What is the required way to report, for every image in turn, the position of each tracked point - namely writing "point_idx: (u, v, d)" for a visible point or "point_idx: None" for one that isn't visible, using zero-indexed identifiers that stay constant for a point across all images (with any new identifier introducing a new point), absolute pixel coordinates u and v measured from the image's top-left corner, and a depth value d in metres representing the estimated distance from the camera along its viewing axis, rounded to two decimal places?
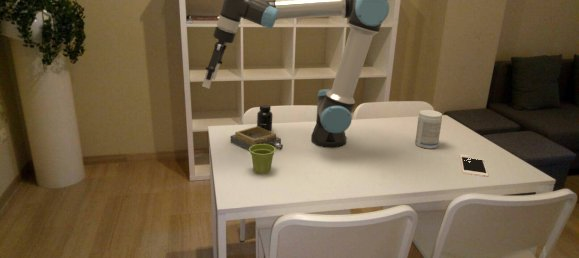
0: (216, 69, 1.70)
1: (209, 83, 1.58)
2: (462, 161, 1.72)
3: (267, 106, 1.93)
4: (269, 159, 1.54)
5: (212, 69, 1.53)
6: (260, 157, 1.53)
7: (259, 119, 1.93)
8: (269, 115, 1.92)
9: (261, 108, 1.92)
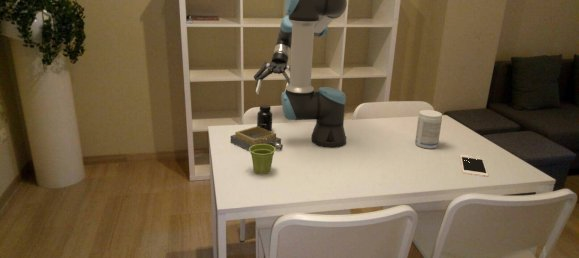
0: None
1: None
2: (462, 161, 1.72)
3: (267, 106, 1.93)
4: (269, 159, 1.54)
5: None
6: (260, 157, 1.53)
7: (259, 119, 1.93)
8: (269, 115, 1.92)
9: (261, 108, 1.92)
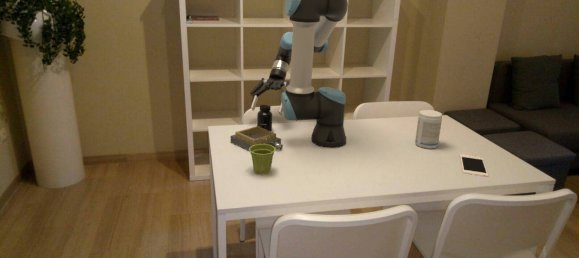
0: None
1: None
2: (462, 161, 1.72)
3: (267, 106, 1.93)
4: (269, 159, 1.54)
5: None
6: (260, 157, 1.53)
7: (259, 119, 1.93)
8: (269, 115, 1.92)
9: (261, 108, 1.92)
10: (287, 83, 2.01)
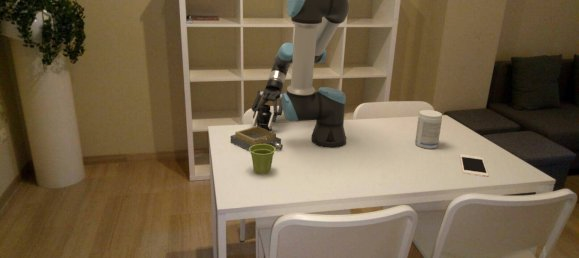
0: None
1: None
2: (462, 161, 1.72)
3: (267, 106, 1.93)
4: (269, 159, 1.54)
5: None
6: (260, 157, 1.53)
7: (259, 119, 1.93)
8: (269, 115, 1.92)
9: (261, 108, 1.92)
10: None
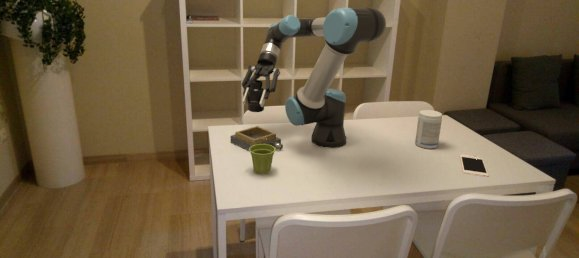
0: None
1: None
2: (462, 161, 1.72)
3: (258, 81, 1.73)
4: (269, 159, 1.54)
5: None
6: (260, 157, 1.53)
7: (250, 96, 1.73)
8: (261, 91, 1.73)
9: (252, 83, 1.72)
10: (276, 71, 1.77)
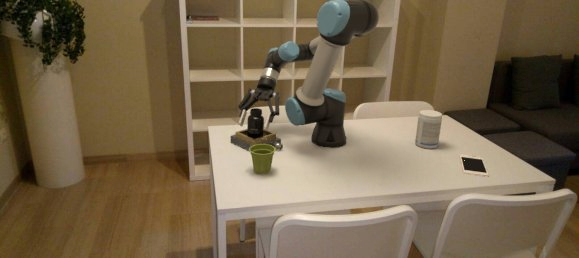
0: None
1: None
2: (462, 161, 1.72)
3: (258, 110, 1.78)
4: (269, 159, 1.54)
5: None
6: (260, 157, 1.53)
7: (249, 124, 1.77)
8: (260, 119, 1.77)
9: (252, 112, 1.76)
10: (276, 94, 1.80)
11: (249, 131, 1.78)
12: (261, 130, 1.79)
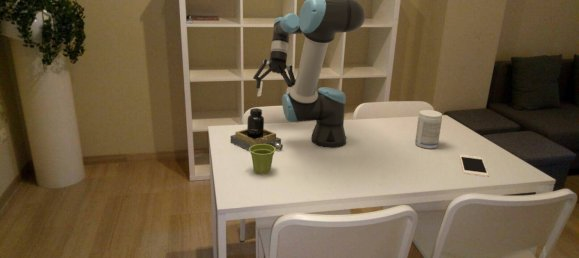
0: (288, 92, 1.95)
1: (259, 91, 1.89)
2: (462, 161, 1.72)
3: (258, 110, 1.77)
4: (269, 159, 1.54)
5: (254, 76, 1.88)
6: (260, 157, 1.53)
7: (249, 124, 1.77)
8: (260, 120, 1.77)
9: (252, 112, 1.76)
10: (291, 68, 1.95)
11: (249, 131, 1.78)
12: (261, 130, 1.79)
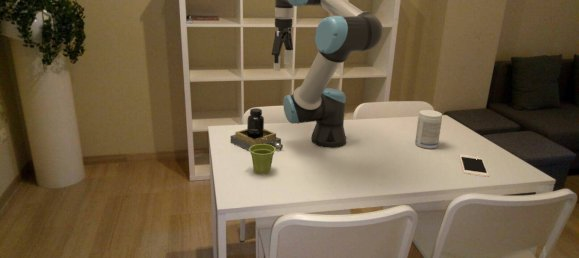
0: (289, 55, 1.96)
1: (278, 66, 1.84)
2: (462, 161, 1.72)
3: (258, 110, 1.77)
4: (269, 159, 1.54)
5: (275, 53, 1.80)
6: (260, 157, 1.53)
7: (249, 124, 1.77)
8: (260, 120, 1.77)
9: (251, 112, 1.76)
10: (290, 31, 1.92)
11: (249, 131, 1.78)
12: (261, 130, 1.78)
